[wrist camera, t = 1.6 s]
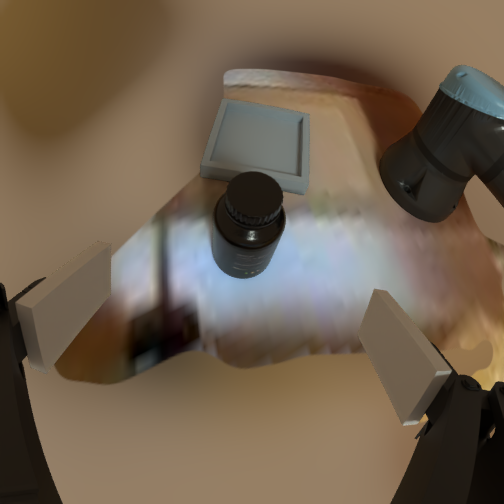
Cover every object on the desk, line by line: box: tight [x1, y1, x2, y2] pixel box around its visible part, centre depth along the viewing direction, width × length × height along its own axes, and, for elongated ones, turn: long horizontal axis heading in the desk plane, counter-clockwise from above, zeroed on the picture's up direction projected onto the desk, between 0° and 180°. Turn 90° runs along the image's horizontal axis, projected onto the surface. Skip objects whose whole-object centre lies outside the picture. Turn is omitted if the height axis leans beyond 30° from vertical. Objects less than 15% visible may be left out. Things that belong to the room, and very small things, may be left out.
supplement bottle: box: [212, 171, 286, 279], centre depth 30 cm, size 7×7×12 cm
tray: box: [200, 98, 310, 195], centre depth 42 cm, size 14×15×2 cm
